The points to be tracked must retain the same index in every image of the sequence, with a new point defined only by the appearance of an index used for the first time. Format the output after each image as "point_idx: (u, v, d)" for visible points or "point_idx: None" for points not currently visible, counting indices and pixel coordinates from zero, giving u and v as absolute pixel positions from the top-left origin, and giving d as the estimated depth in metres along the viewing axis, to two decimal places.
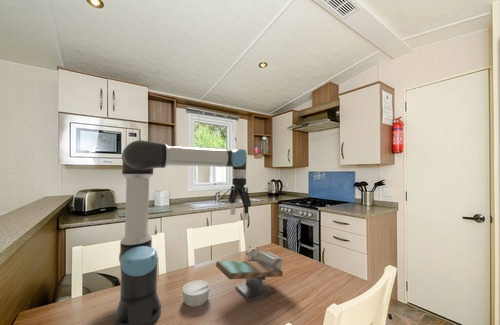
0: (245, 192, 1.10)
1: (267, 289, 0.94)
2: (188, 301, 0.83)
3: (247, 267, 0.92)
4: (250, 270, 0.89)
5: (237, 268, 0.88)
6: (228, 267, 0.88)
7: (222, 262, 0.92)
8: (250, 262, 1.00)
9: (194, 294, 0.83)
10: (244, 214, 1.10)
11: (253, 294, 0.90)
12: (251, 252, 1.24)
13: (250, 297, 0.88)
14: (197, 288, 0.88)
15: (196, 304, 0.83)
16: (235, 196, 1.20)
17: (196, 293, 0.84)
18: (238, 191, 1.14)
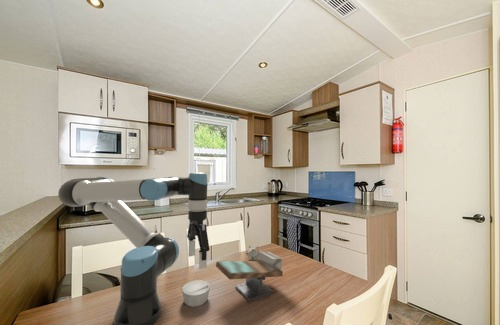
0: (202, 231, 0.83)
1: (267, 289, 0.94)
2: (188, 301, 0.83)
3: (247, 267, 0.92)
4: (250, 270, 0.89)
5: (237, 268, 0.88)
6: (228, 267, 0.88)
7: (222, 262, 0.92)
8: (250, 262, 1.00)
9: (194, 294, 0.83)
10: (201, 261, 0.82)
11: (253, 294, 0.90)
12: (251, 252, 1.24)
13: (250, 297, 0.88)
14: (197, 288, 0.88)
15: (196, 304, 0.83)
16: (194, 233, 0.92)
17: (196, 293, 0.84)
18: (195, 229, 0.86)
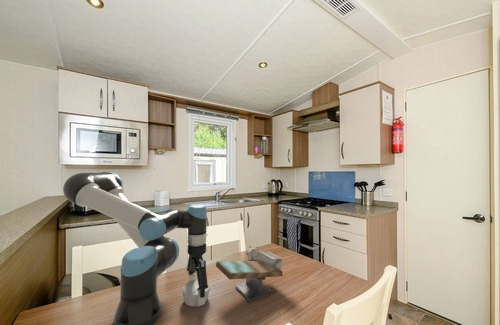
0: (201, 268, 0.82)
1: (267, 289, 0.94)
2: (188, 301, 0.83)
3: (247, 267, 0.92)
4: (250, 270, 0.89)
5: (237, 268, 0.88)
6: (228, 267, 0.88)
7: (222, 262, 0.92)
8: (250, 262, 1.00)
9: (194, 294, 0.83)
10: (199, 298, 0.82)
11: (253, 294, 0.90)
12: (251, 252, 1.24)
13: (250, 297, 0.88)
14: (197, 287, 0.87)
15: (196, 304, 0.83)
16: (193, 266, 0.91)
17: (196, 293, 0.84)
18: (194, 263, 0.86)
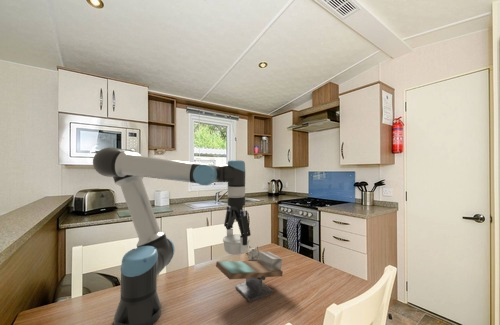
0: (244, 217, 0.85)
1: (267, 289, 0.94)
2: (230, 249, 0.86)
3: (247, 267, 0.92)
4: (250, 270, 0.89)
5: (237, 268, 0.88)
6: (228, 267, 0.88)
7: (222, 262, 0.92)
8: (250, 262, 1.00)
9: (237, 242, 0.86)
10: (242, 246, 0.85)
11: (253, 294, 0.90)
12: (251, 252, 1.24)
13: (250, 297, 0.88)
14: (237, 238, 0.90)
15: (238, 252, 0.86)
16: (232, 220, 0.94)
17: (238, 242, 0.87)
18: (235, 214, 0.88)
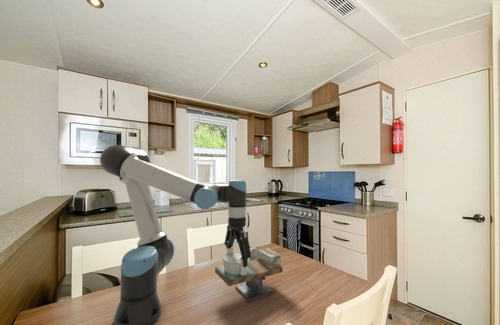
0: (244, 239, 0.85)
1: (267, 289, 0.94)
2: (230, 269, 0.86)
3: None
4: (249, 272, 0.89)
5: None
6: (227, 273, 0.87)
7: (221, 267, 0.92)
8: (249, 262, 0.99)
9: (236, 263, 0.85)
10: (242, 268, 0.85)
11: (253, 294, 0.90)
12: (251, 252, 1.24)
13: (250, 297, 0.88)
14: (237, 258, 0.90)
15: (238, 272, 0.86)
16: (232, 239, 0.94)
17: (238, 262, 0.87)
18: (235, 235, 0.88)
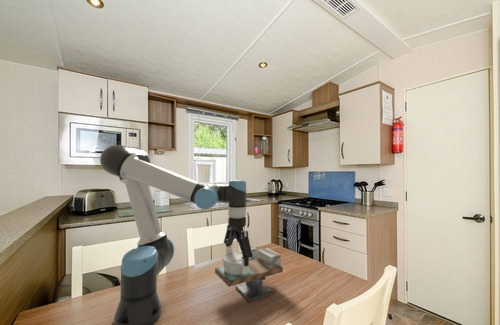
0: (245, 238, 0.85)
1: (267, 289, 0.94)
2: (230, 269, 0.86)
3: None
4: (249, 272, 0.89)
5: None
6: (226, 273, 0.87)
7: (221, 268, 0.92)
8: (249, 262, 0.99)
9: (236, 263, 0.85)
10: (243, 267, 0.84)
11: (253, 294, 0.90)
12: None
13: (250, 297, 0.88)
14: (237, 258, 0.90)
15: (238, 273, 0.86)
16: (232, 238, 0.94)
17: (238, 262, 0.87)
18: (236, 235, 0.88)
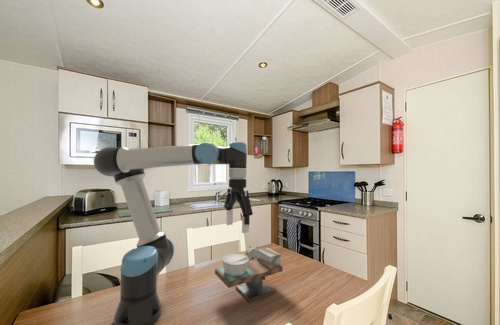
0: (245, 197, 0.85)
1: (267, 289, 0.94)
2: (229, 270, 0.86)
3: None
4: (249, 273, 0.89)
5: None
6: (226, 274, 0.87)
7: (220, 269, 0.92)
8: (249, 262, 0.99)
9: (236, 264, 0.85)
10: (244, 226, 0.85)
11: (253, 294, 0.90)
12: (251, 252, 1.24)
13: (250, 297, 0.88)
14: (236, 259, 0.90)
15: (237, 273, 0.86)
16: (232, 202, 0.95)
17: (237, 263, 0.86)
18: (236, 196, 0.89)
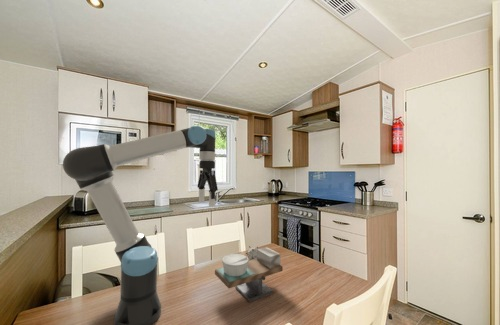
0: (212, 175, 0.99)
1: (267, 289, 0.94)
2: (229, 271, 0.86)
3: (246, 270, 0.92)
4: (249, 273, 0.89)
5: None
6: (226, 275, 0.87)
7: (220, 269, 0.92)
8: (249, 262, 0.99)
9: (236, 264, 0.85)
10: (210, 200, 0.98)
11: (253, 294, 0.90)
12: (251, 252, 1.24)
13: (250, 297, 0.88)
14: (236, 259, 0.90)
15: (237, 274, 0.86)
16: (204, 181, 1.09)
17: (237, 263, 0.86)
18: (205, 175, 1.02)
